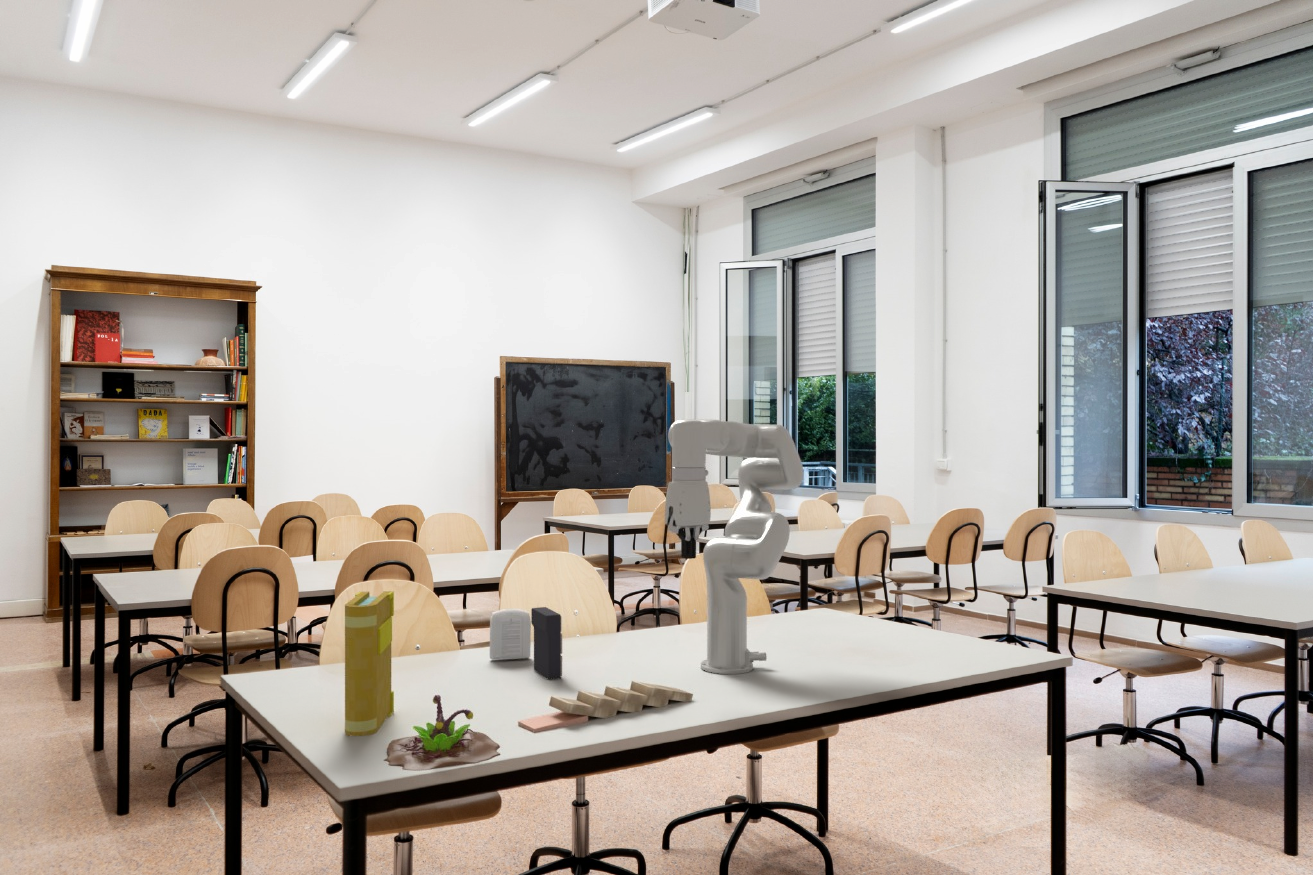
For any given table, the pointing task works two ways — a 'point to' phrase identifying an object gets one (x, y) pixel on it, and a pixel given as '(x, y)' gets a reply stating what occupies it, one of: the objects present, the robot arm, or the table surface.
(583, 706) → the domino
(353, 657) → the book
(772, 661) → the table surface
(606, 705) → the domino
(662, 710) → the table surface
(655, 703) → the domino
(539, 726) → the domino
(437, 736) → the plant
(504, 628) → the grey headstone
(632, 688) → the domino
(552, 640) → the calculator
